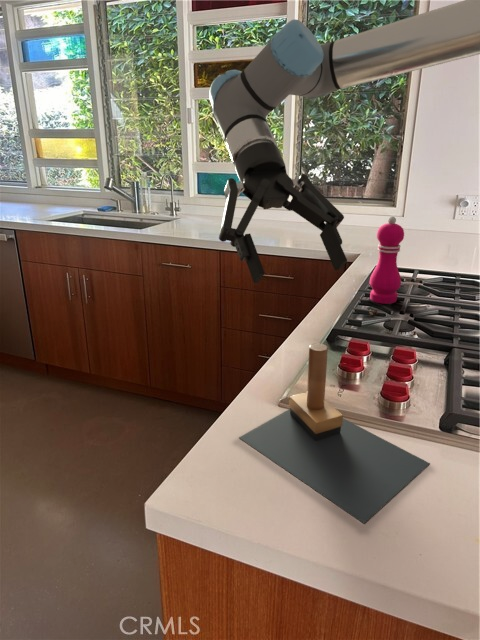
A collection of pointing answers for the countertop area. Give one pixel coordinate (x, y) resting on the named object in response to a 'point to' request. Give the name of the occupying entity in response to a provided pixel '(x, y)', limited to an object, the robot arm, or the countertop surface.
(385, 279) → the pepper mill
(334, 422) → the scrub brush
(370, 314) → the nutmeg
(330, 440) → the mat
